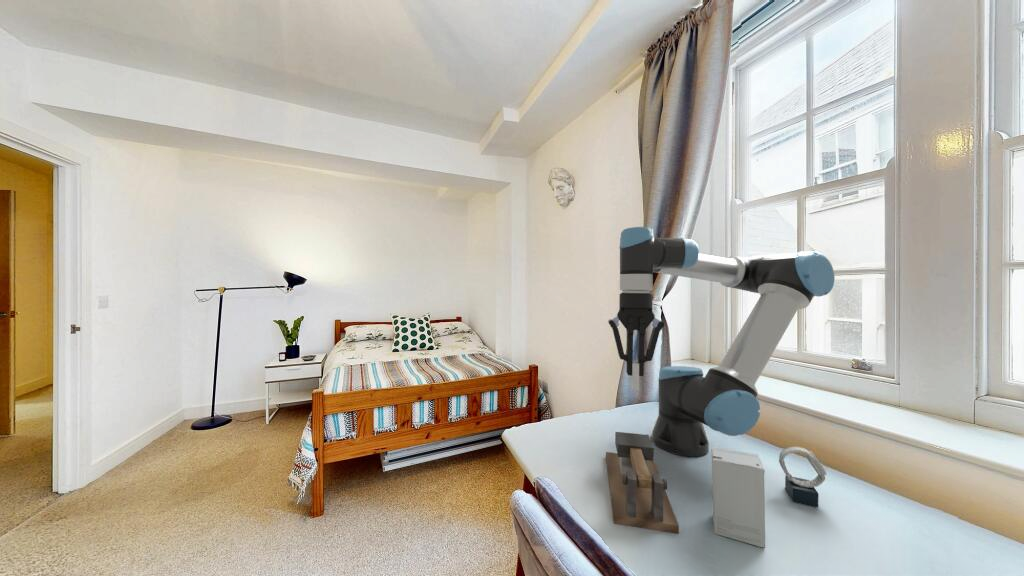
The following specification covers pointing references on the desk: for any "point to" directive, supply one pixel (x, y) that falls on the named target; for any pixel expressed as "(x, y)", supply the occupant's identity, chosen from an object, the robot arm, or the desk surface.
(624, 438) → the lever
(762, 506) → the skincare box
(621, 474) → the press base
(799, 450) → the watch
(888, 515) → the desk surface
